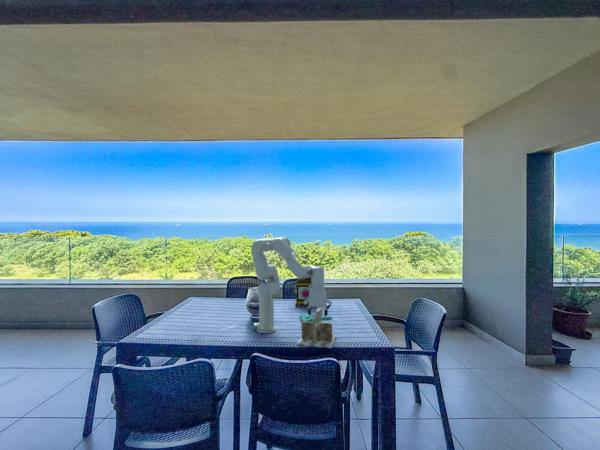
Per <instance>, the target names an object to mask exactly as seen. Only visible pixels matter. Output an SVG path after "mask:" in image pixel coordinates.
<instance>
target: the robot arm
mask: <svg viewBox="0 0 600 450" xmlns="http://www.w3.org/2000/svg"><path fill="white" fill-rule="evenodd" d="M272 251H275V252H276V254H277V253H278V255H279V256H280V257H281V258H282V259H283V260H284V261H285V262H286V263H285V264H286V265H287V268H288V270H289V271H290V272H291V273H292V274H293V275H294V276H295V277H296V278H297V279H298V278H299V279H305V278H309V277H311V285H309V287H311V289H310V293H309V299H307V300H305V301H304V304H305V305H304V306H305V307H306V308H307V315H308V314H309V316H310V315H311V314H312V308H313V307H314V308H315V307H316V308H324V317H328V313H329V312H328V310H329V309H330V307H331V306H332V304H333V302H332V301H331V300H329V299H327V292H326V289H325V269H324V267H323V266H321V265H316V266H315V265H311V264H306V265H301V264H300V262H298V261H297V259H296V256H297V255H296V254H297V252H296V250H295V249H294V248H292V246H291V240H290V239H289V238H288V237H286V236H285V237H284V236H281V237H271V238H269V237H268V238H259V239H256V240H255V241H254V242H253V243H252V245H251V248H250V252H251V256H252V258H253V263H254V270H255V274H256V278H257V279H258V280H259V281H263V282H262V283H260V284H259V285H258V286H257V296H258V312H259V313H258V322H253V327H255V328H256V332H257V333H261V334H271V333H274V332H276V331H277V327H276V326H275V325H274V324H275V323H274V322H275V320H274V319H275V318H274V316H275V314H274V313H275V309H274V304H275V303H274V299H273V295H276V294H278V293H279V292H280V290H281V283H280V278H279V273H278V270H277V268H276V266H275V265H273V264H269V263H268V259H267V256H266V255H265V253H264V252H272ZM265 280H266V281H265ZM308 301H309V305H308V304H307V302H308ZM327 304H328V305H327Z"/></svg>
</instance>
